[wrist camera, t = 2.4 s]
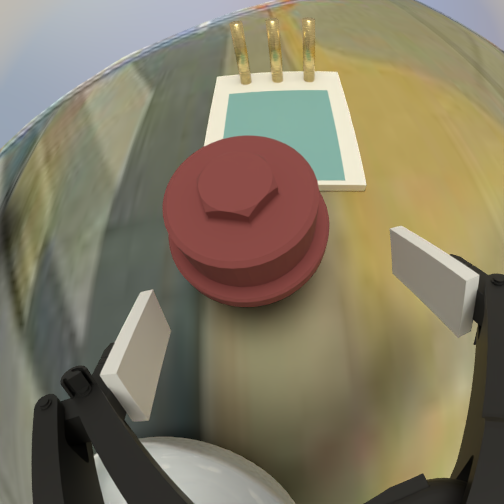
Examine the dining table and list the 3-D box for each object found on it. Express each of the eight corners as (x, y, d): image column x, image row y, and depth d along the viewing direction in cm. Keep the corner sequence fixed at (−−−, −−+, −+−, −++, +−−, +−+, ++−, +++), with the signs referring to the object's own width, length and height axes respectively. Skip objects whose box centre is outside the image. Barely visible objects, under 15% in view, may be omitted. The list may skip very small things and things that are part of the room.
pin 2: (272, 83, 34) (265, 22, 26) (272, 77, 35) (265, 18, 26) (283, 82, 34) (278, 22, 26) (282, 76, 34) (278, 17, 26)
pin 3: (304, 82, 34) (302, 21, 25) (303, 76, 34) (301, 17, 26) (315, 82, 33) (315, 21, 25) (313, 76, 34) (314, 17, 26)
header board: (199, 195, 30) (196, 189, 29) (218, 82, 37) (217, 76, 36) (364, 191, 28) (366, 184, 27) (336, 77, 35) (337, 71, 34)
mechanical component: (189, 312, 25) (217, 209, 29) (308, 335, 23) (324, 222, 27) (113, 258, 14) (176, 111, 17) (327, 295, 12) (341, 120, 16)
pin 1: (240, 85, 34) (229, 26, 26) (241, 79, 35) (230, 21, 27) (251, 84, 34) (241, 24, 26) (251, 78, 35) (242, 20, 27)
